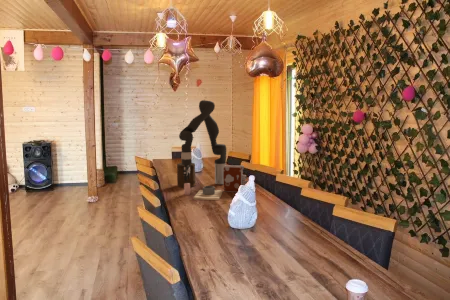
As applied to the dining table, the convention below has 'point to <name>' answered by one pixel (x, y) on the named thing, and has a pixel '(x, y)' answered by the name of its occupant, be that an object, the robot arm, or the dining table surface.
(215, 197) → the mount board
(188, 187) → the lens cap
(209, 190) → the lens barrel
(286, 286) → the dining table surface
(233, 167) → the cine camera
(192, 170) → the wooden container
